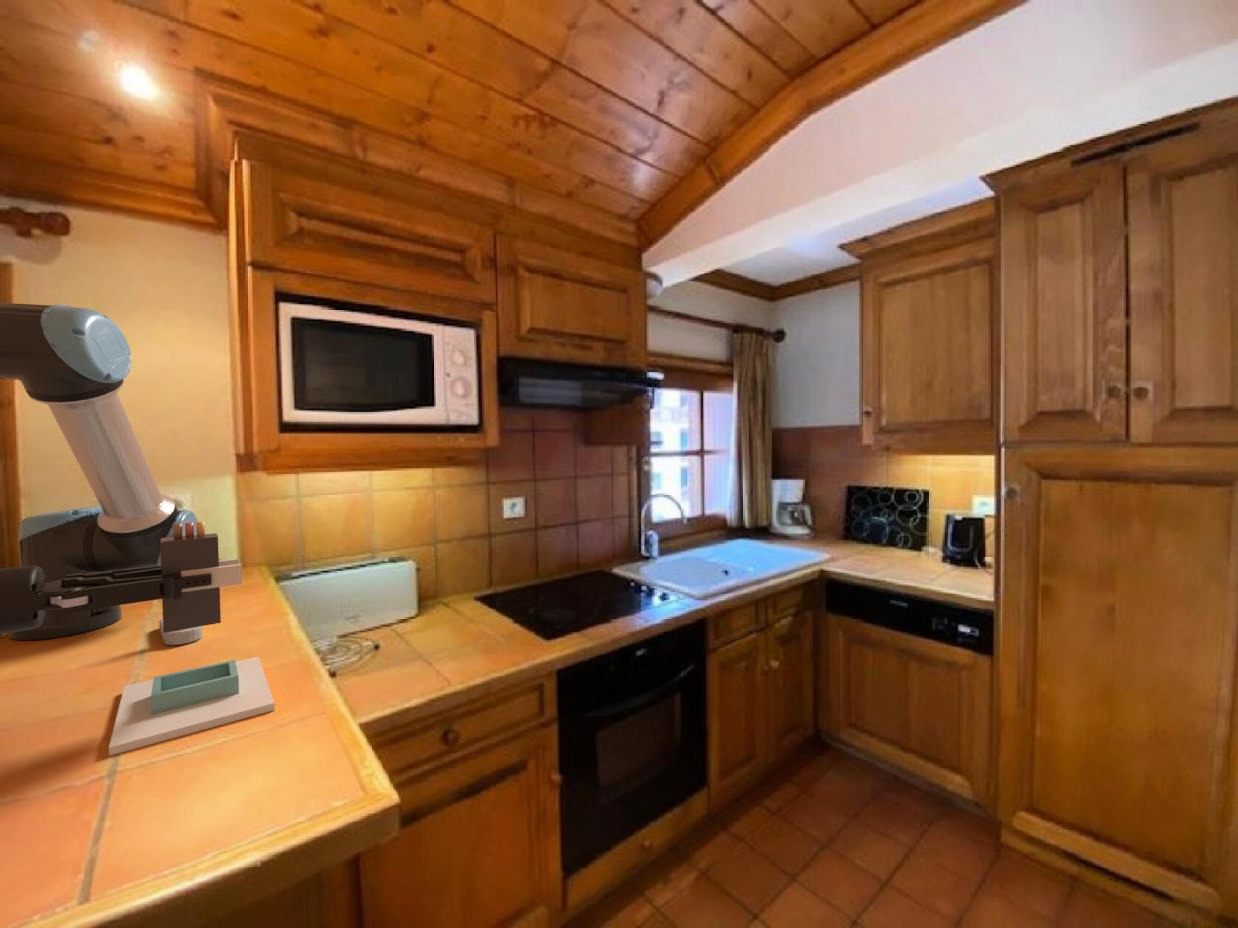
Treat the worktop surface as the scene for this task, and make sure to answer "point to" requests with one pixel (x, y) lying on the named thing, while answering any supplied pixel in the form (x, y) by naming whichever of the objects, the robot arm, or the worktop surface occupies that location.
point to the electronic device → (180, 635)
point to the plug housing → (190, 556)
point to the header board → (189, 703)
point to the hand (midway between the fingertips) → (239, 570)
